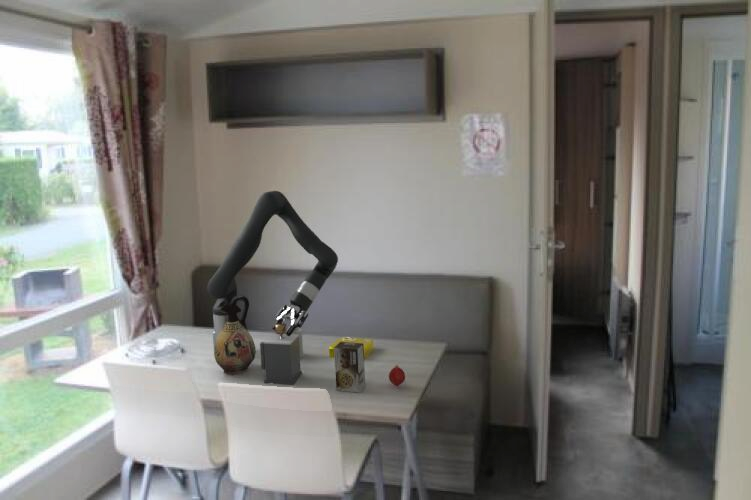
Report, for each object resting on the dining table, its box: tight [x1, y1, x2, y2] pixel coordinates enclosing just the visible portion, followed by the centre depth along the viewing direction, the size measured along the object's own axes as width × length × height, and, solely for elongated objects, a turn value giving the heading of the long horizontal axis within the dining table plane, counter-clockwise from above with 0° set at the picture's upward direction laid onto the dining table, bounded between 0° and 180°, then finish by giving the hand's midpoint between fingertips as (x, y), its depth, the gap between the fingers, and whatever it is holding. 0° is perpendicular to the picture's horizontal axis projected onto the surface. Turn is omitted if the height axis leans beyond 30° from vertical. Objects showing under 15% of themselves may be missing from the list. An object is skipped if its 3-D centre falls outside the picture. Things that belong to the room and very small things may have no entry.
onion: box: [388, 364, 406, 387], centre depth 232 cm, size 6×6×8 cm
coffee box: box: [334, 342, 366, 394], centre depth 231 cm, size 9×6×16 cm
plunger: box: [274, 322, 287, 339], centre depth 241 cm, size 8×8×19 cm
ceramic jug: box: [213, 294, 257, 376], centre depth 249 cm, size 17×15×30 cm
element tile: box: [328, 336, 375, 359], centre depth 269 cm, size 15×15×5 cm
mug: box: [286, 327, 304, 359], centre depth 266 cm, size 12×8×11 cm
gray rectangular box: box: [259, 332, 303, 385], centre depth 242 cm, size 14×11×16 cm
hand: (280, 332), depth 240 cm, fingers open, 8 cm apart
